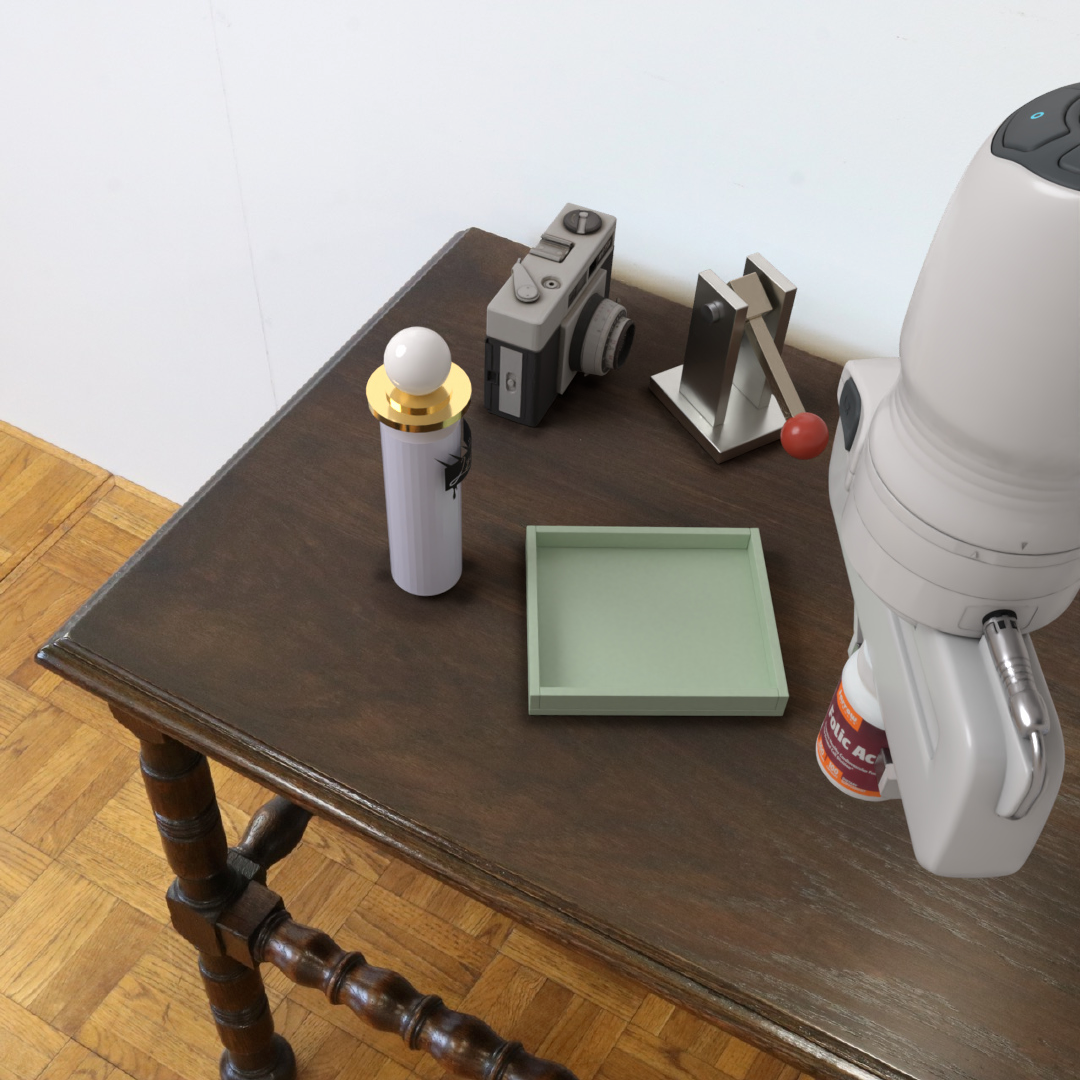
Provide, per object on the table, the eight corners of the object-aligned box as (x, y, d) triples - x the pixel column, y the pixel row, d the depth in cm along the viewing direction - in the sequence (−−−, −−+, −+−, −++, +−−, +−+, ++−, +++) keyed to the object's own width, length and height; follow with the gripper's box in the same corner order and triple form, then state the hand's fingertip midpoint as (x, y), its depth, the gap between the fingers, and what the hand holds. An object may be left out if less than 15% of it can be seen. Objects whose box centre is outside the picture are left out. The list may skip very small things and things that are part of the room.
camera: (583, 447, 90) (593, 338, 82) (479, 410, 92) (480, 301, 84) (653, 333, 98) (669, 225, 91) (557, 302, 100) (564, 194, 93)
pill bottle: (793, 757, 58) (831, 651, 52) (854, 698, 61) (897, 589, 54) (878, 825, 56) (928, 722, 50) (937, 760, 58) (993, 654, 52)
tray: (753, 548, 84) (758, 527, 82) (782, 716, 75) (789, 696, 74) (525, 546, 83) (526, 525, 82) (528, 715, 75) (530, 695, 73)
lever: (820, 456, 87) (845, 443, 84) (783, 471, 86) (807, 459, 83) (743, 285, 87) (764, 267, 84) (705, 298, 86) (726, 280, 83)
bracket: (796, 432, 92) (831, 302, 83) (717, 464, 89) (745, 334, 80) (724, 359, 97) (749, 229, 88) (648, 388, 94) (666, 257, 85)
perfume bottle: (371, 601, 80) (347, 360, 65) (396, 535, 84) (379, 292, 68) (459, 618, 79) (456, 379, 64) (480, 550, 83) (482, 309, 68)
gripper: (1155, 764, 39) (1013, 948, 50) (985, 336, 53) (902, 552, 63) (955, 765, 39) (854, 950, 49) (836, 334, 52) (777, 551, 63)
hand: (880, 723), depth 56 cm, fingers closed on pill bottle, 5 cm apart
